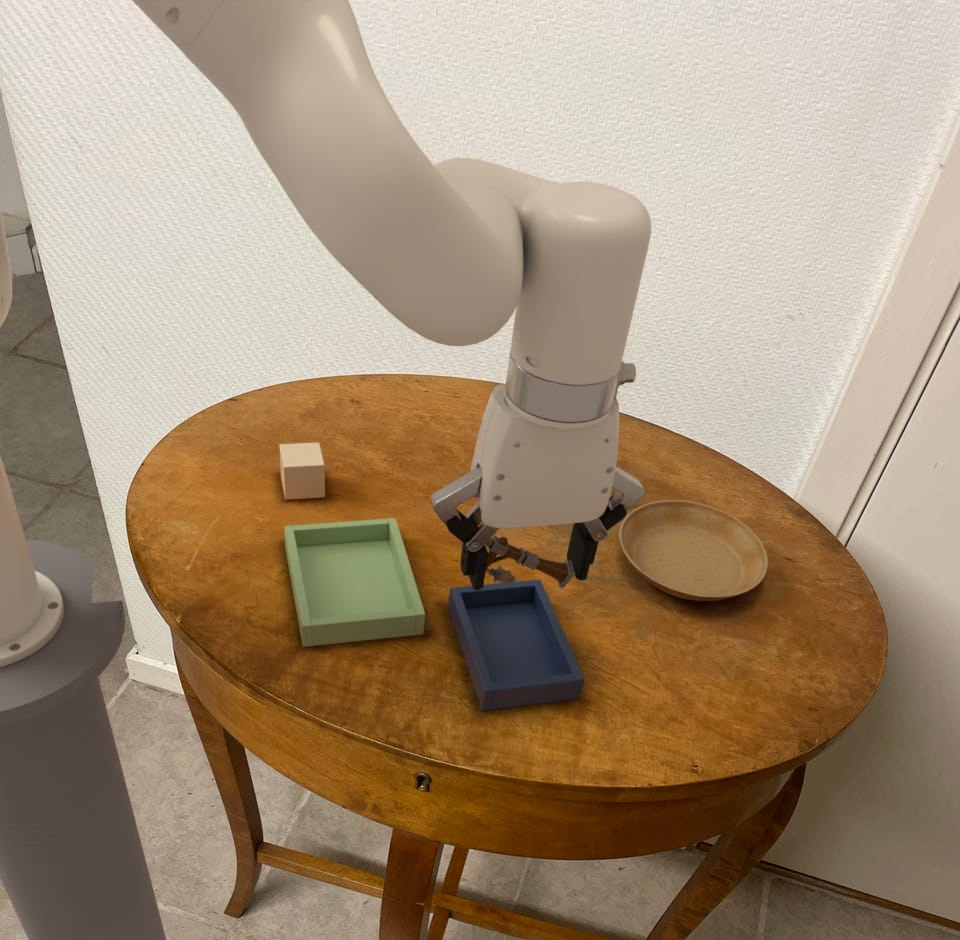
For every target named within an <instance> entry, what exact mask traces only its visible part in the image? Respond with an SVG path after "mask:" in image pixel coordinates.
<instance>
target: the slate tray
mask: <svg viewBox="0 0 960 940" xmlns="http://www.w3.org/2000/svg"><path fill="white" fill-rule="evenodd" d="M447 611H448V613H449V616H450V619H451V622H452V625H453V628H454V631H455V634H456V637H457V640H458V643H459V646H460V649H461V652H462V655H463V658H464V661H465V664H466V667H467V669H468V673H469V676H470V679H471V682H472V685H473V688H474V691H475V695H476V697H477V700H478V704H479V706H480V709H481V711H482V712H485V711H494V710H501V709H508V708H517V707H525V706H532V705H534V706H535V705H541V704H549V703H558V702H564V701H573V700H579V699H580V697H581V693H582V690H583V686H584V684H585V683H584V682H585V677H584V675H583V672H582V670H581V668H580V665H579V663H578V661H577V659H576V657H575V654H574V652H573V650H572V647H571V645H570V643H569V641H568V638H567V637H566V634H565V631H564V630H563V627H562V625H561V623H560V619H558V616H557V613H556V610H555V608H554V607H553V604H552V602H551V600H550V598H549V596H548V593H547V591H546V589H545V586H544V584H543V582H542V580H541V579H533V580H532V579H531V580H520V581H514V582H513V583H510V582H509V583H508V584H507V585H505V584H504V583H502V582H496V583H484V586H483V588H481V590H474V589H473V587H472V585H465V586H463V585H462V586H456V587H449V593H448V602H447Z"/></svg>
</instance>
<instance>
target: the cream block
mask: <svg viewBox="0 0 960 940" xmlns="http://www.w3.org/2000/svg"><path fill="white" fill-rule="evenodd" d="M279 465H280V466H279V467H280V479H281V483H282V490H283V496H284V500H285V501H288V500H306V499H318V498H319V499H320V498H321V499H322V498H325V497H326V470H325V469H326V467H325V466H326V465H325V461H324V456H323V453H322V449H321V444H320V442H299V443H298V442H297V443H279Z"/></svg>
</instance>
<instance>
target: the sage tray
mask: <svg viewBox="0 0 960 940" xmlns="http://www.w3.org/2000/svg"><path fill="white" fill-rule="evenodd" d="M283 530H284V531H283V532H284V549H285V552H286V560H287V564H288V565H287V566H288V571H289V577H290V583H291V587H292V594H293V599H294V607H295V610H296V618H297V622H298V628H299V633H300V640H301V645H302V648H305V647H314V646H315V647H316V646H324V645H333V644H345V643H353V642H364V641H373V640H383V639H391V638H401V637H410V636H411V637H412V636H421V635H422V636H423V635H424V632H425V621H426V612H425V609H424V605H423V602H422V599H421V596H420V592H419V589H418V586H417V582H416V579H415V576H414V573H413V570H412V567H411V563H410V560H409V557H408V553H407V549H406V547H405V544H404V541H403V538H402V537H403V536H402V534H401V531H400V527H399V524H398V521H397V518H396V517H388V518H378V519H361V520H350V521H349V520H348V521H336V522H321V523H307V524H294V525H293V524H291V525H284V526H283Z"/></svg>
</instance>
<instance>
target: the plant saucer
mask: <svg viewBox="0 0 960 940" xmlns="http://www.w3.org/2000/svg"><path fill="white" fill-rule="evenodd" d="M618 537H619V543H620V547H621V548H622V551H623V553H624V555H625V558H626V559H627V561H628V562H629V563H630V565H631V567H633V569H634V570H635V571H636V572H637V573H638V574H639V576H641V577H642V578H643V579H644V580H645V581H647V582H648V583H649V584H650V585H652V586H653V587H654V588H656V589H657V590H659V591H661V592H663V593H665V594H668V595H671V596H673V597H675V598H676V597H677V598H679V599H684V600H686V601H687V600H689V601H695V602H712V601H713V602H715V601H722V600H727V599H731V598H734V597H737V596H740V595H743V594H745V593H747V592H749V591H751V590H753V589H754V588H756V586H758V585H759V584H760V583H761V582H762V581H763V580H764V578H765V576H766V574H767V571H768V567H769V558H768V554H767V550H766V548H765V546H764V543H763V542H762V540H760V538H759V536H757V534H756V533H755V532H754V531H753V530H752V529H751V528H750V527H749V526H748V525H747V524H745V523H744V522H743V521H741V520H740V519H738V518H737V517H735V516H733V515H731V514H730V513H728V512H726V511H723V510H721V509H719V508H716V507H714V506H711V505H707V504H704V503H699V502H696V501H690V500H683V499H682V500H681V499H665V500H664V499H663V500H656V501H652V502H647V503H644V504H643V505H640V506H637V507H636V508H634V509H633V510H631V511H629V513H628V514H626V516H625V517H624V518H623V519H622V522H621V523H620V527H619V533H618Z"/></svg>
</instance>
